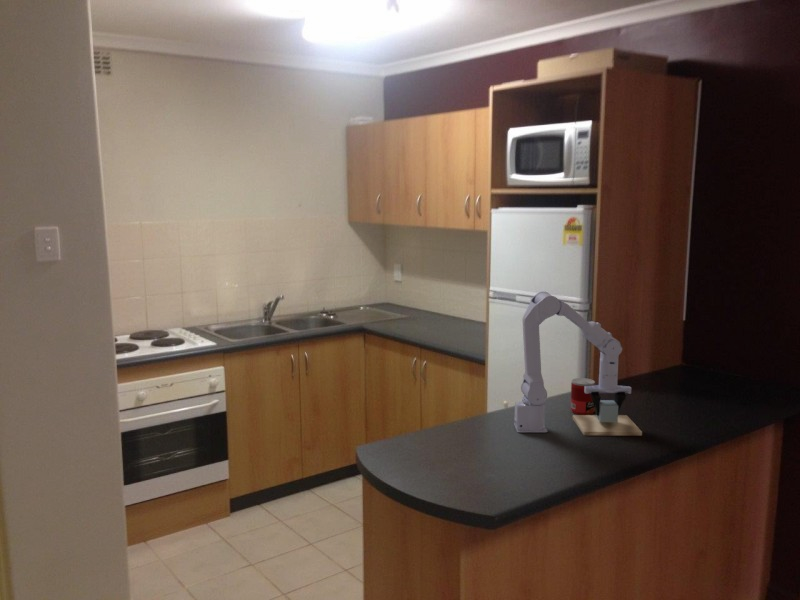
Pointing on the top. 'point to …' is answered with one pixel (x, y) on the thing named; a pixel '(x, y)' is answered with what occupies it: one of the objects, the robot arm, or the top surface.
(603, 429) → the board
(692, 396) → the top surface
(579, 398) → the canned food
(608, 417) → the cube
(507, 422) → the top surface
